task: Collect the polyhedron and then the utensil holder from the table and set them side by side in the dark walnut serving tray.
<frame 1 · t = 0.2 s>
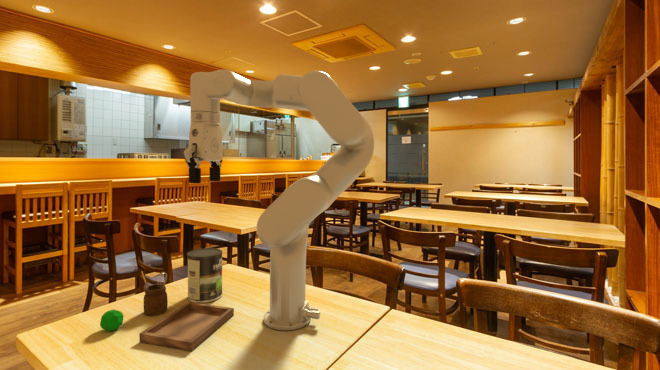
hand: (205, 182, 93), 36 cm above the table, tool pointing down, fingers open, 9 cm apart
polyhedron: (112, 330, 83), on the table
utensil holder: (155, 312, 93), on the table
coffee can: (205, 297, 104), on the table
tray: (190, 327, 85), on the table
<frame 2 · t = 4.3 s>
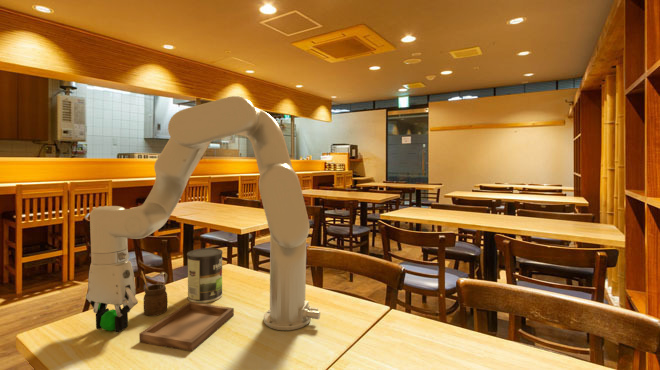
hand: (112, 327, 83), 0 cm above the table, tool pointing down, fingers closed on polyhedron, 5 cm apart
polyhedron: (112, 330, 83), on the table, touching gripper
everything else where it was.
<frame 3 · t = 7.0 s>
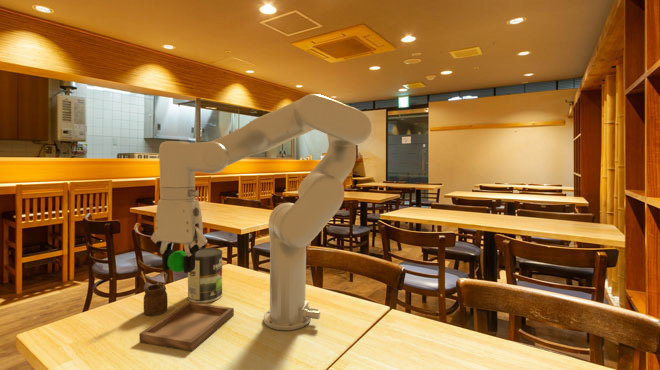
hand: (179, 269, 80), 17 cm above the table, tool pointing down, fingers closed on polyhedron, 5 cm apart
polyhedron: (179, 271, 80), point 16 cm above the table, touching gripper
everything else where it was.
when the fingers open (2 cm above the table, at t = 9.9 s): polyhedron drops 1 cm, resting on tray.
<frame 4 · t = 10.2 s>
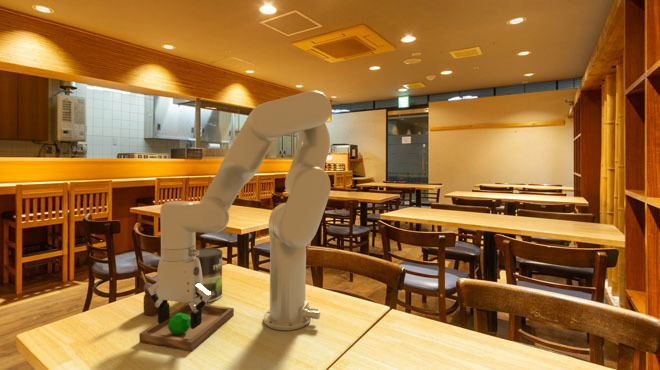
hand: (179, 323, 81), 3 cm above the table, tool pointing down, fingers open, 8 cm apart
polyhedron: (179, 333, 81), resting on tray
everything else where it was.
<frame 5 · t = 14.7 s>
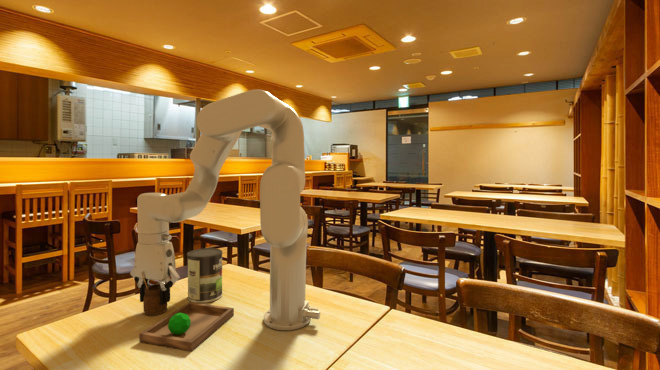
hand: (155, 300, 93), 3 cm above the table, tool pointing down, fingers closed on utensil holder, 5 cm apart
utensil holder: (155, 312, 93), on the table, touching gripper
everything else where it was.
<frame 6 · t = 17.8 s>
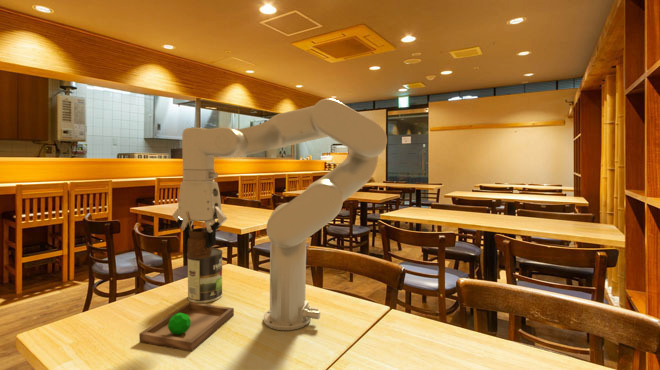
hand: (199, 244, 87), 20 cm above the table, tool pointing down, fingers closed on utensil holder, 5 cm apart
utensil holder: (199, 257, 87), point 17 cm above the table, touching gripper
everything else where it was.
when the fingers open (5 cm above the table, at t = 20.9 s): utensil holder drops 2 cm, resting on tray.
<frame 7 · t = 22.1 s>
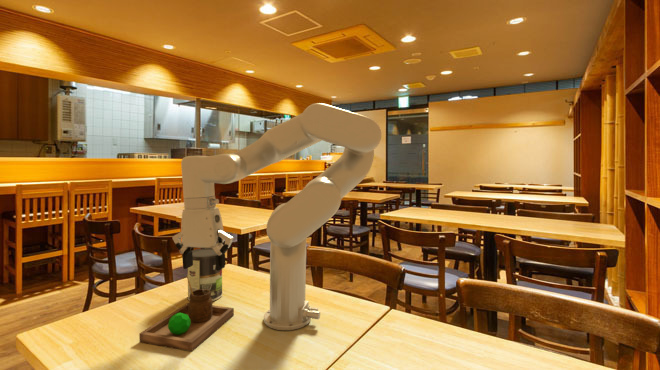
hand: (204, 268, 88), 14 cm above the table, tool pointing down, fingers open, 9 cm apart
utensil holder: (200, 318, 89), resting on tray
everything else where it was.
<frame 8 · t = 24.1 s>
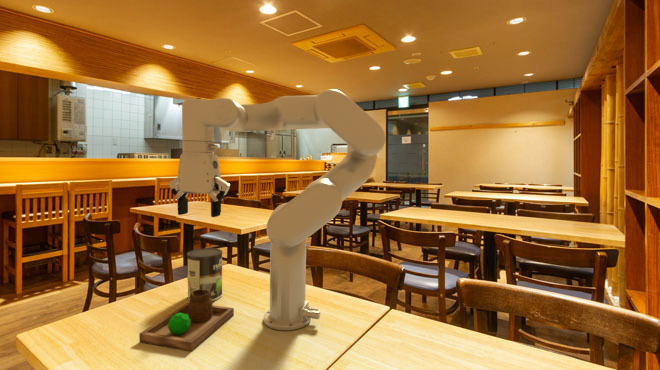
hand: (199, 215, 87), 28 cm above the table, tool pointing down, fingers open, 9 cm apart
nothing on the table moved.
at the end: polyhedron inside the target area on the tray (4.0 cm from its centre), point 0.4 cm above the tray's base; utensil holder inside the target area on the tray (4.0 cm from its centre), point 0.4 cm above the tray's base; utensil holder tilted 0° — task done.
